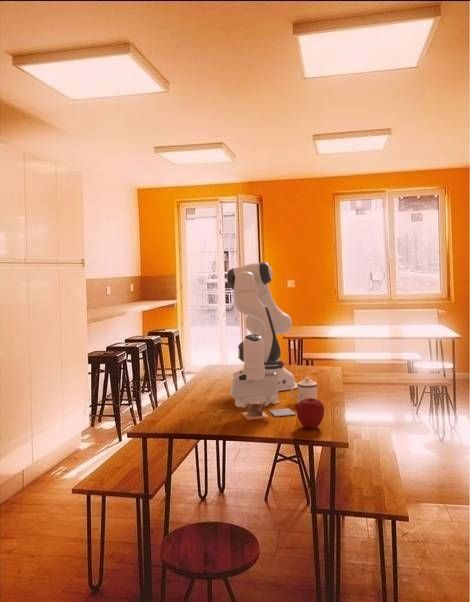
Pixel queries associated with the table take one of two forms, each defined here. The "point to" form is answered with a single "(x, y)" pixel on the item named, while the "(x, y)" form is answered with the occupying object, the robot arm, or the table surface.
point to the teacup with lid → (306, 390)
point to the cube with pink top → (254, 408)
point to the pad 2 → (282, 412)
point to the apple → (310, 412)
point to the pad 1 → (254, 416)
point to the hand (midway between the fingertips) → (255, 406)
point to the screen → (257, 398)
